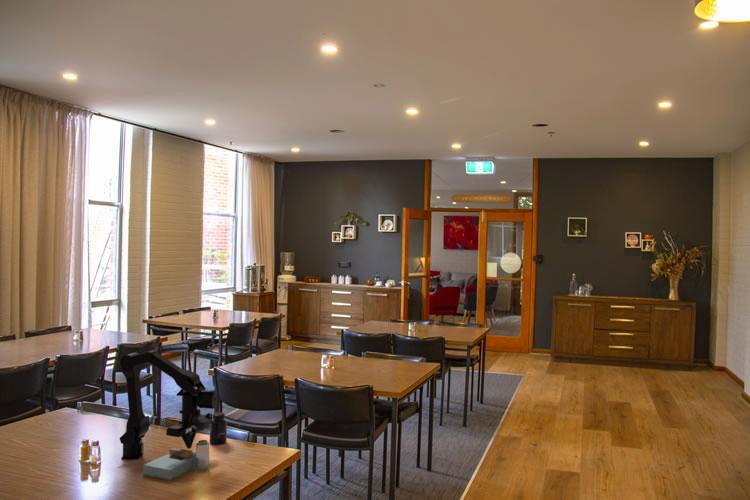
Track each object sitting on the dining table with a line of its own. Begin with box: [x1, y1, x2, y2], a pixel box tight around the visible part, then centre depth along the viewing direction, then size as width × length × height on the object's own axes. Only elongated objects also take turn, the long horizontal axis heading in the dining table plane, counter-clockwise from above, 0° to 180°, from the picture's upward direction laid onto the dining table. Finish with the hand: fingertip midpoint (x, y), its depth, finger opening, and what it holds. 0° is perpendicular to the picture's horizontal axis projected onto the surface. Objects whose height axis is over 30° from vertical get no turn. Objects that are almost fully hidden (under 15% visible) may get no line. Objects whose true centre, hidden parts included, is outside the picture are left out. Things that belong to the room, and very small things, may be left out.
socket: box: [143, 450, 196, 481], centre depth 207 cm, size 12×18×4 cm, turn 157°
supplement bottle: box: [209, 412, 228, 446], centre depth 235 cm, size 7×7×12 cm
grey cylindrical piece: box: [195, 439, 210, 474], centre depth 205 cm, size 5×5×10 cm
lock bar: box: [168, 447, 193, 458], centre depth 209 cm, size 9×2×2 cm, turn 67°
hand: (189, 448), depth 215 cm, fingers closed
